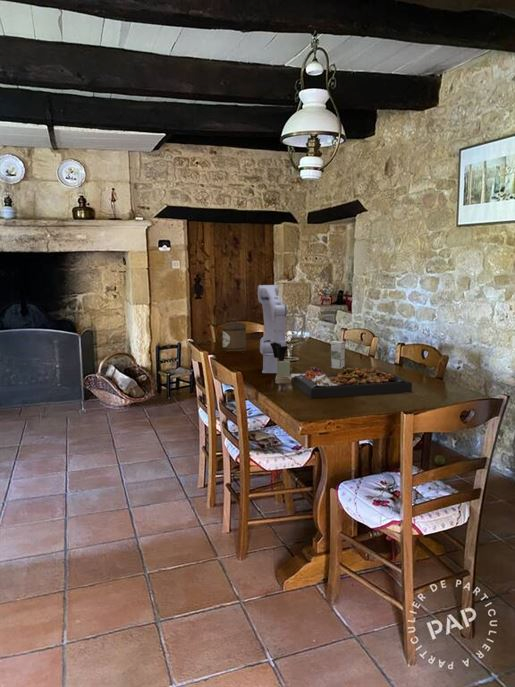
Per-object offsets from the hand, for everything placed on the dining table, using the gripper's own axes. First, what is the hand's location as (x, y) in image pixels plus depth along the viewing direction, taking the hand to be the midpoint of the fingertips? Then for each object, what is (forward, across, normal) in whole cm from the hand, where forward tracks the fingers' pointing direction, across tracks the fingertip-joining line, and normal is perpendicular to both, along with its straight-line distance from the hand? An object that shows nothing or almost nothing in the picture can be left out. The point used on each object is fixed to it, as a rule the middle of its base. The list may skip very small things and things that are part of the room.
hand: (279, 359), depth 234 cm
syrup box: (+11, -19, +38) cm, 44 cm away
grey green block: (+10, -3, +3) cm, 11 cm away
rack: (+10, -3, +3) cm, 11 cm away
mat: (+10, -6, +12) cm, 17 cm away
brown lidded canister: (+11, -81, -4) cm, 82 cm away
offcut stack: (+10, +5, 0) cm, 11 cm away
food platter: (+11, +22, +26) cm, 36 cm away
